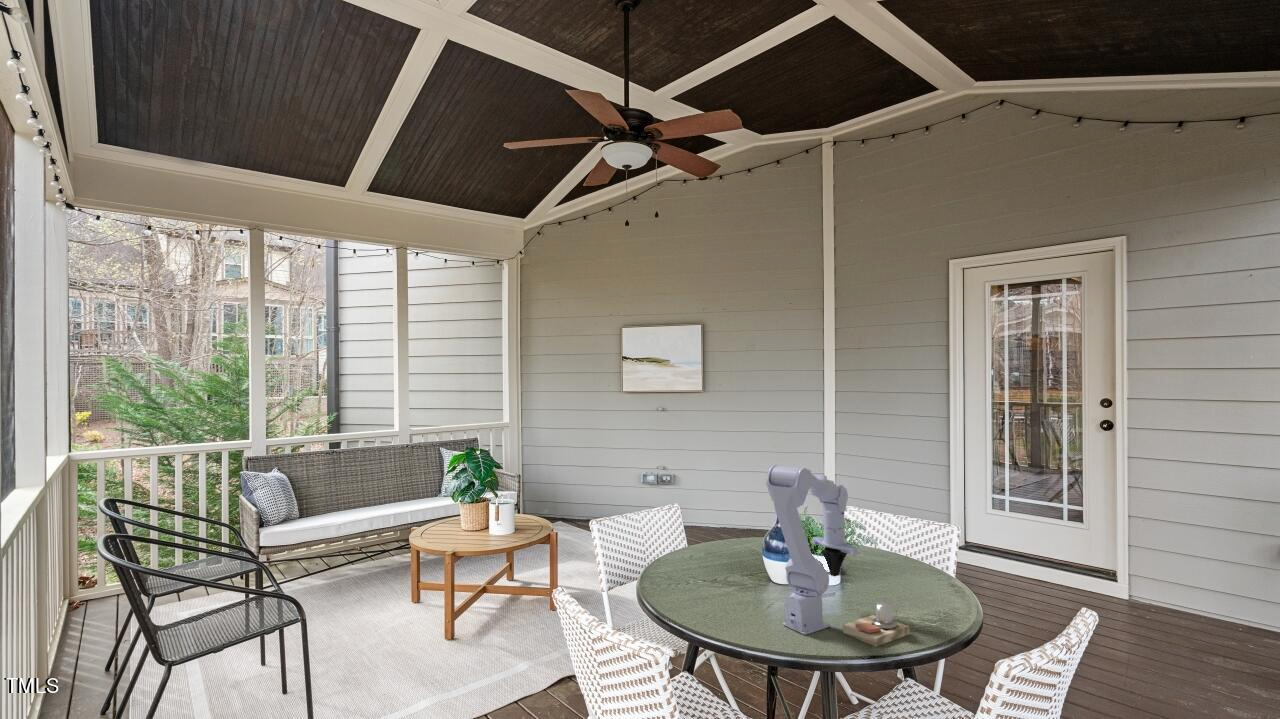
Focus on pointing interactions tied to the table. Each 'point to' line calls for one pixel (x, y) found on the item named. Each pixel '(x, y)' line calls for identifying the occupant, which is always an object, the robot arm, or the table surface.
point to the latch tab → (868, 627)
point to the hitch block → (875, 637)
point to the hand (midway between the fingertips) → (834, 575)
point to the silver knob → (884, 616)
